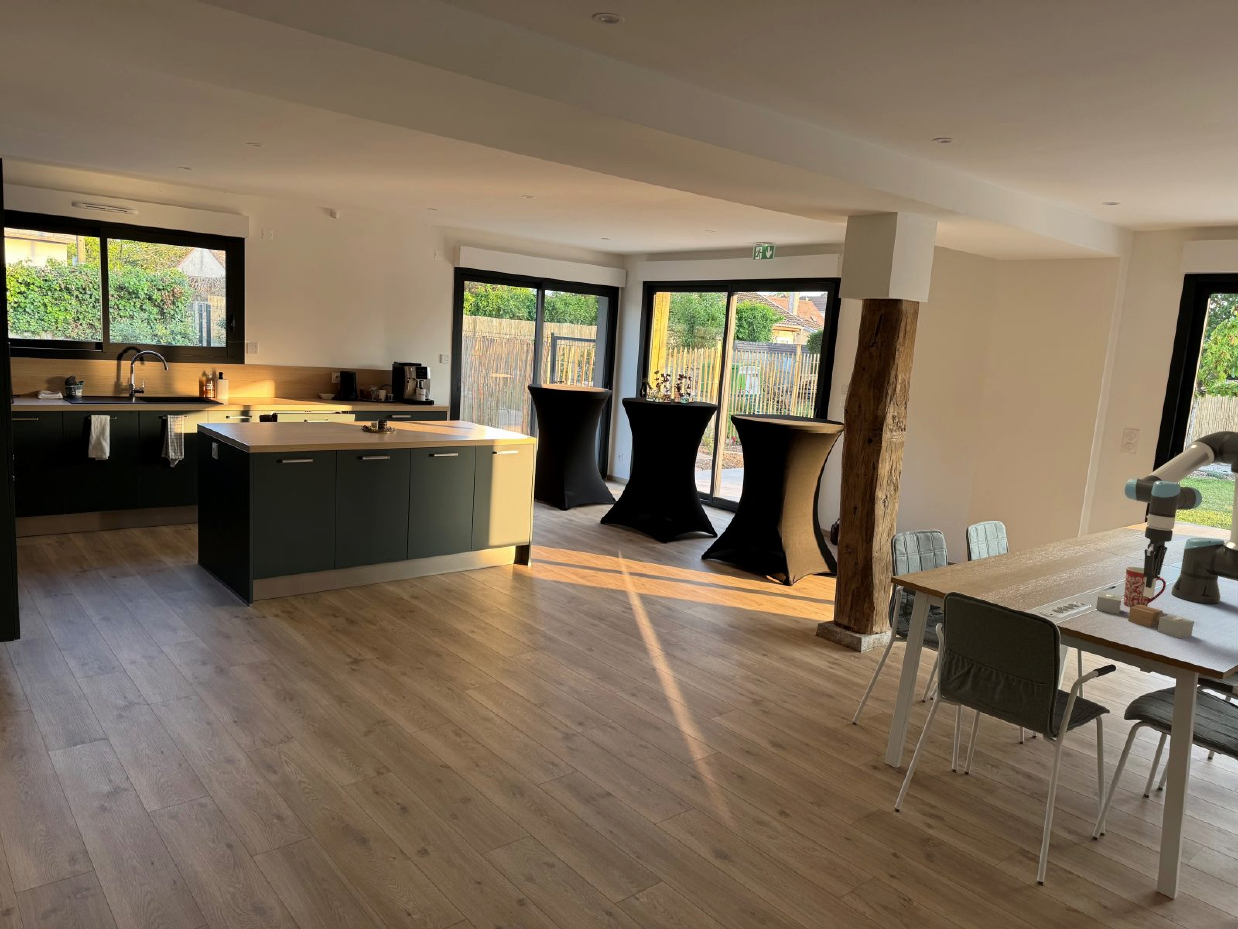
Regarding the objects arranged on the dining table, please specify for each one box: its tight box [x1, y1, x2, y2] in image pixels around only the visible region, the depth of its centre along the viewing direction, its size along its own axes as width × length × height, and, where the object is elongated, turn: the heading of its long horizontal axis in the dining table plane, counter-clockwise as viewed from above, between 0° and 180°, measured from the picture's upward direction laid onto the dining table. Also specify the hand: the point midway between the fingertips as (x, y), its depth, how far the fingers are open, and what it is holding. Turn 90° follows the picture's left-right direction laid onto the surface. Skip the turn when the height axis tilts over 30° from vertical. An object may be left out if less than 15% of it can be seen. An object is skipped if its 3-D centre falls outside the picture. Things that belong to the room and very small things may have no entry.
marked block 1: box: [1095, 592, 1123, 615], centre depth 290 cm, size 7×7×5 cm
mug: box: [1123, 566, 1167, 608], centre depth 295 cm, size 13×9×14 cm
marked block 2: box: [1157, 614, 1195, 639], centre depth 268 cm, size 7×7×5 cm
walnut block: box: [1128, 605, 1163, 628], centre depth 278 cm, size 7×7×5 cm
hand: (1148, 596), depth 277 cm, fingers closed
